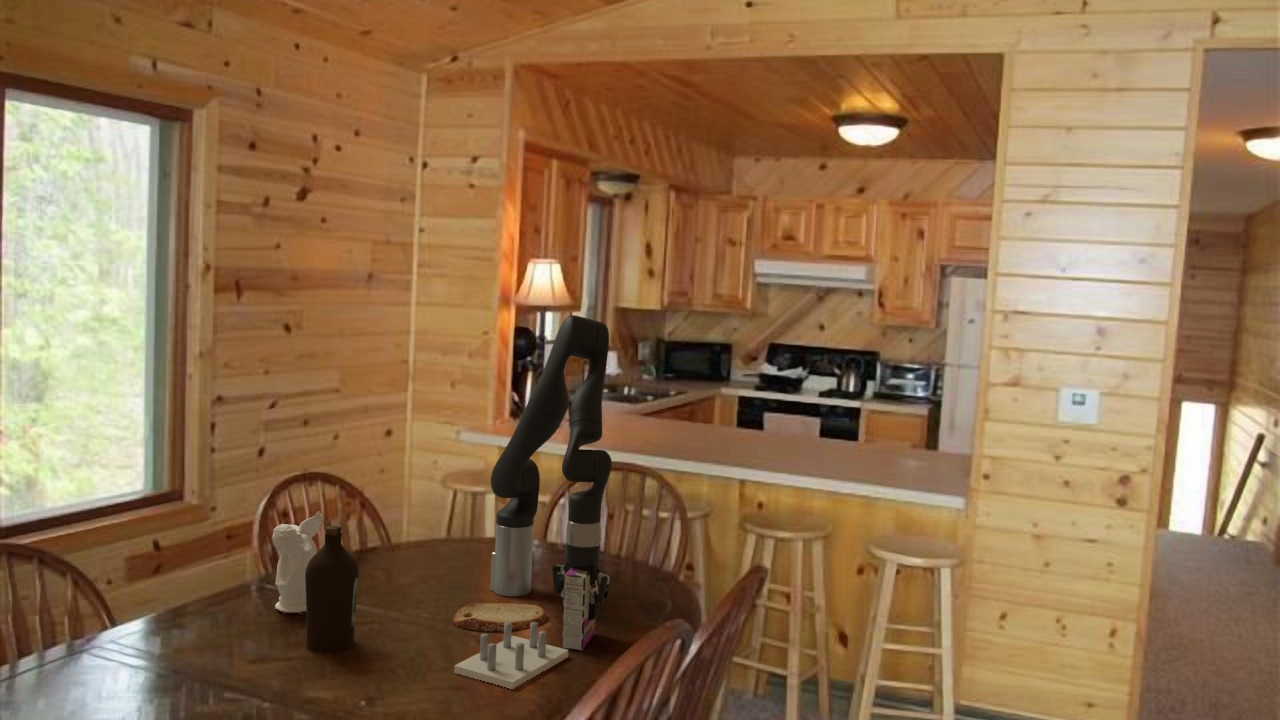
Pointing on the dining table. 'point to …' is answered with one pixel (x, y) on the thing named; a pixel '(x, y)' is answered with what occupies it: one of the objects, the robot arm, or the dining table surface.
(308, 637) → the olive oil
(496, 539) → the robot arm
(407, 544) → the dining table surface
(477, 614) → the bread slice
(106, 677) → the dining table surface
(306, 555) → the cherub figurine
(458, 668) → the pin tray
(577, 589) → the candy bar box
